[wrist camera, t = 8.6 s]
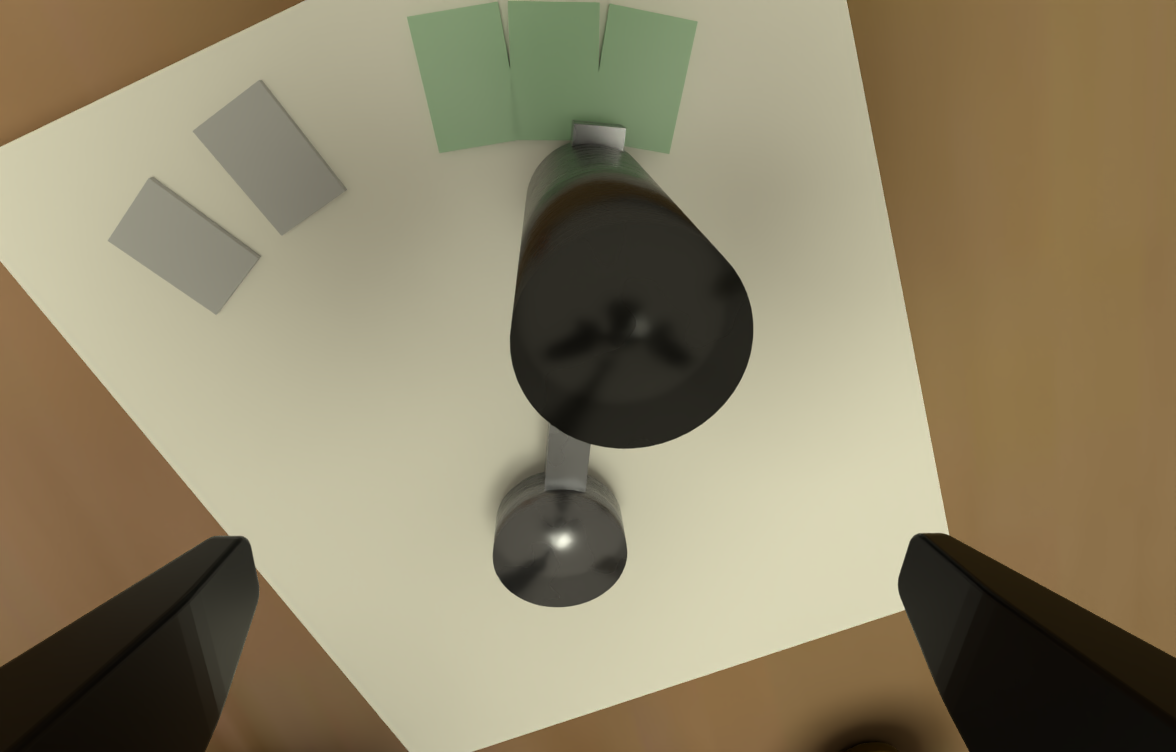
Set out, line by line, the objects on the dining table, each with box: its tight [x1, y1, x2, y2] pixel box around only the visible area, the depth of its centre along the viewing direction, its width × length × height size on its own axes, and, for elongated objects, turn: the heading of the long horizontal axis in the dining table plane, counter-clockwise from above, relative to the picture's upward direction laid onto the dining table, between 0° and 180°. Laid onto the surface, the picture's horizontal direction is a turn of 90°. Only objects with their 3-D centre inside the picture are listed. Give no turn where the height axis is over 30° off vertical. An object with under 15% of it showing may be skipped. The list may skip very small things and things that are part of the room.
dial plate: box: [0, 0, 949, 752], centre depth 21 cm, size 22×25×2 cm
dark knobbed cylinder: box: [493, 120, 753, 607], centre depth 15 cm, size 14×4×9 cm, turn 175°
